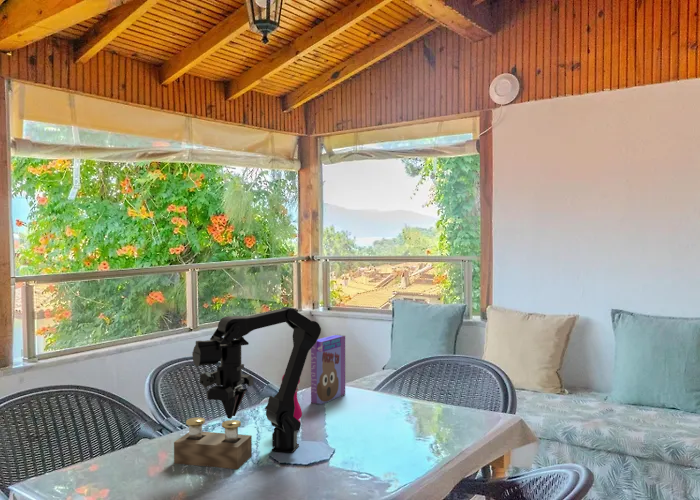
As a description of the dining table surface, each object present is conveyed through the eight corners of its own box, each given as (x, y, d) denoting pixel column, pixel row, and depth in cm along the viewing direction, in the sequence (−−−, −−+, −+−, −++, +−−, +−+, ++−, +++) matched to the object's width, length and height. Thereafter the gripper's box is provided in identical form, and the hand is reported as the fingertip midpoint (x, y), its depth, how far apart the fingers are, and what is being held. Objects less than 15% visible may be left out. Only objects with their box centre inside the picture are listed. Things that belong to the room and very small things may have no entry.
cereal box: (321, 404, 225) (321, 341, 225) (311, 403, 228) (311, 340, 227) (345, 394, 240) (345, 335, 240) (335, 392, 243) (335, 334, 242)
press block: (251, 456, 172) (251, 435, 172) (237, 469, 162) (237, 447, 162) (191, 450, 176) (191, 430, 176) (174, 463, 166) (173, 441, 166)
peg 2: (243, 443, 170) (243, 420, 170) (236, 449, 165) (236, 426, 165) (226, 441, 171) (226, 419, 171) (218, 447, 166) (218, 425, 166)
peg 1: (208, 440, 172) (208, 418, 172) (199, 446, 167) (199, 423, 167) (191, 438, 173) (191, 416, 173) (182, 444, 168) (182, 422, 168)
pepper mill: (298, 431, 194) (298, 370, 194) (277, 429, 196) (277, 369, 195) (304, 424, 201) (304, 365, 201) (284, 423, 203) (283, 364, 202)
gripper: (219, 354, 178) (219, 406, 179) (188, 367, 160) (189, 425, 160) (254, 356, 176) (254, 408, 176) (227, 369, 158) (227, 428, 158)
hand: (231, 417), depth 168 cm, fingers closed
